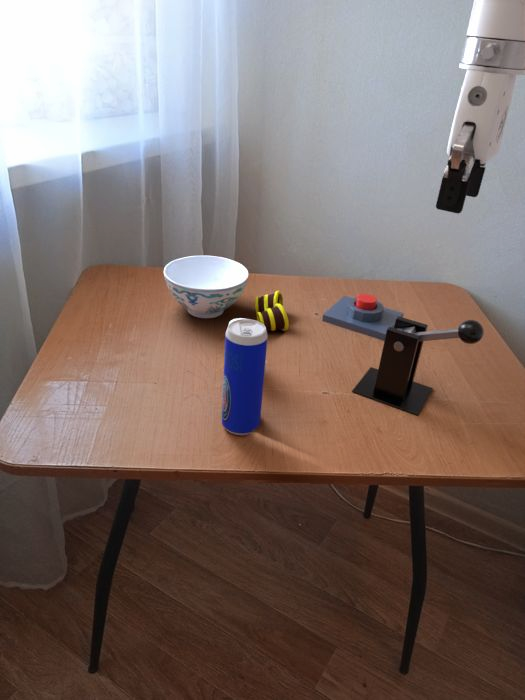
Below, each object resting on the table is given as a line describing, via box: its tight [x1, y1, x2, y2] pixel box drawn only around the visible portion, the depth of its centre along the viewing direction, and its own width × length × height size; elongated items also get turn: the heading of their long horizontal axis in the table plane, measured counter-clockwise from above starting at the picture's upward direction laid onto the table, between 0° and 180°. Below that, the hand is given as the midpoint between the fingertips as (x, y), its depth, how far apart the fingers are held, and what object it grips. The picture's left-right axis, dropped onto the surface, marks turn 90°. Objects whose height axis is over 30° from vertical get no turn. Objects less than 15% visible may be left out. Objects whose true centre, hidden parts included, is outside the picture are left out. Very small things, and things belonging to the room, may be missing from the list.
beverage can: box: [221, 318, 269, 436], centre depth 72 cm, size 5×5×15 cm
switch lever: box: [397, 319, 485, 345], centre depth 77 cm, size 12×3×3 cm, turn 60°
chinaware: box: [163, 255, 249, 319], centre depth 102 cm, size 15×15×8 cm
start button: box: [356, 293, 378, 310], centre depth 101 cm, size 4×4×2 cm
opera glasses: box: [254, 290, 290, 332], centre depth 100 cm, size 10×5×5 cm, turn 5°
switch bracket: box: [351, 316, 434, 417], centre depth 81 cm, size 10×8×12 cm
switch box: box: [322, 295, 405, 341], centre depth 102 cm, size 12×10×4 cm
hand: (457, 202), depth 74 cm, fingers open, 9 cm apart
